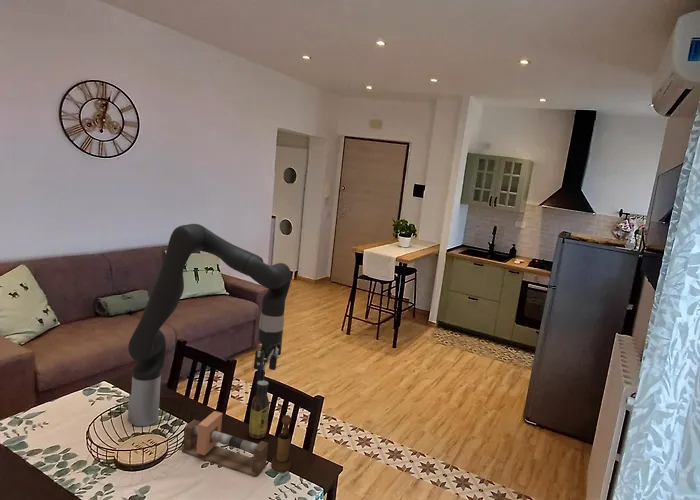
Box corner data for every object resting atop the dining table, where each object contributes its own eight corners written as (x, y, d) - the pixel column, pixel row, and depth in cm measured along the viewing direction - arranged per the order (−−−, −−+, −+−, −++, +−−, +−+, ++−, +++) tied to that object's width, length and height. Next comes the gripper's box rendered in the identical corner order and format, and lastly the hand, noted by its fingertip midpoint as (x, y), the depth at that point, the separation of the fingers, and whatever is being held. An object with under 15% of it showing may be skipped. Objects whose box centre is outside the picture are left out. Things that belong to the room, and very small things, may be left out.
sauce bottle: (262, 441, 167) (267, 389, 163) (245, 437, 168) (250, 385, 164) (269, 431, 173) (274, 380, 169) (252, 427, 174) (257, 377, 170)
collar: (196, 452, 153) (198, 424, 151) (212, 438, 161) (214, 410, 159) (204, 455, 152) (206, 426, 150) (220, 440, 160) (222, 413, 158)
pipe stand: (181, 452, 156) (182, 428, 154) (194, 441, 162) (195, 417, 161) (256, 478, 148) (259, 453, 147) (267, 465, 155) (269, 441, 153)
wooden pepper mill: (274, 474, 151) (280, 423, 147) (268, 462, 156) (273, 412, 153) (294, 470, 154) (300, 420, 150) (287, 458, 160) (293, 409, 156)
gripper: (270, 317, 158) (266, 363, 161) (249, 331, 144) (244, 380, 147) (291, 322, 156) (286, 368, 159) (271, 336, 142) (266, 386, 145)
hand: (266, 374), depth 153 cm, fingers open, 8 cm apart
